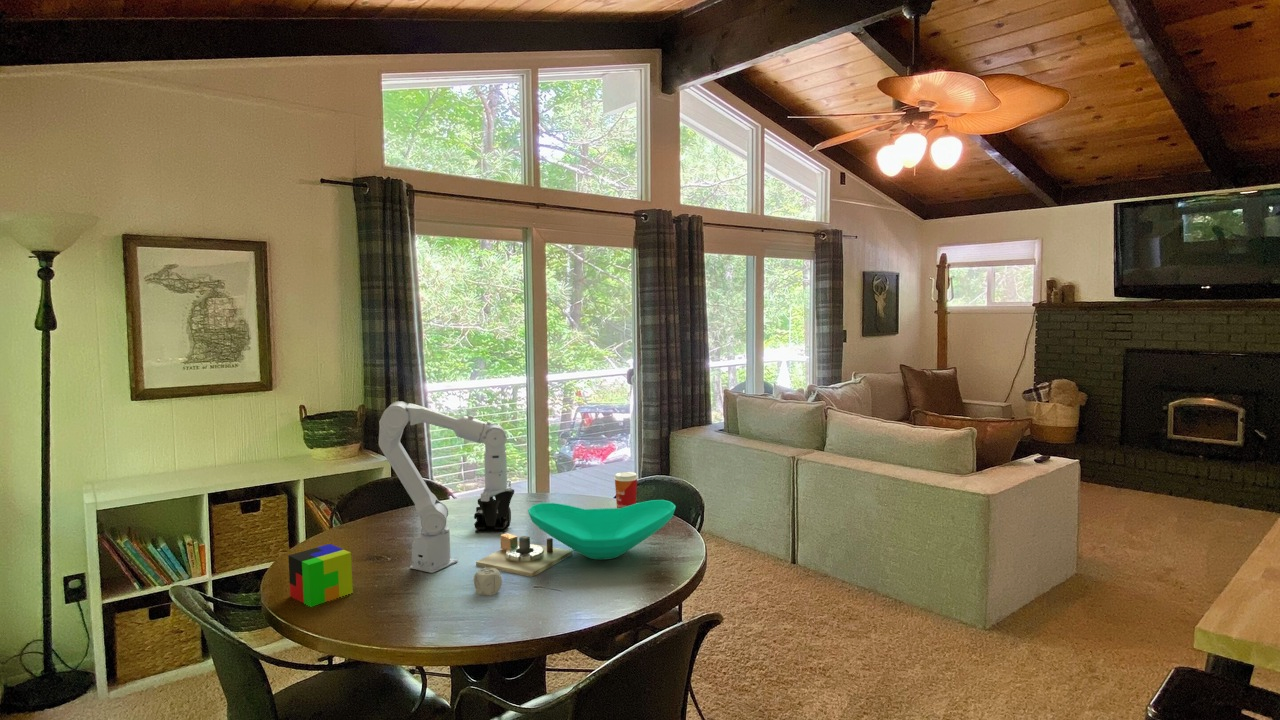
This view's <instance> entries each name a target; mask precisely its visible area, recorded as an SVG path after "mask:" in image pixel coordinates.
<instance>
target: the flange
mask: <svg viewBox="0 0 1280 720" xmlns="http://www.w3.org/2000/svg"><path fill="white" fill-rule="evenodd" d="M499 540H500V550H501V549H503V550H506V557H507V558H508V559H509V560H512V561H518V562H519V561H520V560H521V562H523V561H530V560H536V559H539V558H540V557H542V556H543V554H544V549H543V548H542V547H541V546H538V545H539V544H537V545H530V552H531V553H527V554H520V550H519V546H518V541H519V540H518V536H517V535H513V534H511V533H508V532H507V533H502V534H500V538H499Z"/></svg>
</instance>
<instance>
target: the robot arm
mask: <svg viewBox="0 0 1280 720" xmlns="http://www.w3.org/2000/svg"><path fill="white" fill-rule="evenodd" d="M409 422H410V423H409ZM378 423H379V428H378V429H379V431H378V447H379V448H380V450H381V452H382V454H383V455H384V456H385V458H386V460H387V462H388V463H389V464H390V467H391V468H392V470H393V472H394V473H395V474H396V476H397V477H398V479H399V481H400V483H401V484H402V486H403V487H404V489H405V491H406V492H407V495H408V496H409V497H410V499H411V500H412V502H413V504H414V507H415V509H416V510H415V511H416V513H417V515H418V517H419V518H420V527H421V528H420V533H419V535H418V536H417V537H416V538H414V539H413V541H412V544H411V563H412V564H411V565H410V566H409V568H410V569H413V570H417V571H421V572H426V573H431V574H433V573H436V572H439V571H441V570H442V569H445V568H446V567H449V566H451V565H453V564H455V563H457V562H458V559H457V558H453V557H451V542H450V541H451V537H450V527H449V526H448V524H447V518H448V516H449V510H448V507H447V505H446V504H445V503H443V502H441V501H440V500H439V499H438V498H437V496H436V495H435V494H434V493H433V492H432V491H431V489H430V488H429V487H428V485H427V483H426V481H425V480H424V478H423V477H422V475H421V473H420V472H419V470H418V469H417V467H416V465H415V463H414V462H413V460H412V459H411V457H410V455H409V454H408V452H407V451H406V448H404V446H403V444H402V443H401V439H402V436H403V433H404V429H405V427H406V426H407V425H408V423H409V425H410V426H414V425H418V424H422V423H425V424H429V425H432V426H435V427H438V428H443V429H447V430H451V431H453V432H454V433H455V436H456V437H457V438H459V439H460V438H461V439H464V440H467V441H470V442H472V443H473V442H474V443H478V444H484V451H485V452H484V461H483V462H484V488H483V491H482V493H480V497H479V498H478V499H477V504H478V507H481V509H482V511H483V514H484V517H485V521H486V524H487V526H495V523H496V514H497V509H498V515H499V517H507V515H508V510H509V507H510V504H511V500H512V499H513V496H514V495H515V489H513V488H512V485H511V484H512V483H511V481H512V480H508V471H507V470H508V467H507V463H508V462H507V452H506V450H507V447H506V443H507V440H508V438H507V435H506V430H505V428H504V427H503V426H501V425H499V424H498V423H492V422H491V421H489V420H487V421H486V422H485V421H482V420H479V419H476V418H474V415H472V414H468V416H466V415H462V416H461V417H458V418H456V417H453V416H450V415H448V414H446V413H445V414H444V413H443V412H439V411H437V410H434V409H431V408H428V407H425V406H422V405H418V404H415V403H410V402H409V403H407V402H405V401H403V400H402V401H399V400H398V401H397V400H396V401H394V402H391V404H390V405H389V406H388V407H387V408H386V409H385V410H384V411H383V413H382V414H381V417H380V419H379V422H378Z"/></svg>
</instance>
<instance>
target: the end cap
mask: <svg viewBox="0 0 1280 720" xmlns="http://www.w3.org/2000/svg"><path fill="white" fill-rule="evenodd" d="M475 510H476V511H475V513H474V514H473V515H474V516H473V519H474V520H476V521H475V522H474V524H473V525H474V528H475V534H506V532H507V531H508V529H509V527H510V525H511V523H512V522H511V520H512V510H511V507H510V506H509V510H508V515H507V517H499V515H498V509H497V514H496V523H495V526H487V524H486V521H485V517H484V514H483V511H482V509H481V507H480V506H477V507H476V509H475Z"/></svg>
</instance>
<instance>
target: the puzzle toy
mask: <svg viewBox="0 0 1280 720" xmlns="http://www.w3.org/2000/svg"><path fill="white" fill-rule="evenodd" d="M352 562H353V561H352V552H350V551H349V550H345V549H343V548H341V547H339V546H336V545H333V544H331V543H329V544H325V545H321V546H318V547H314V548H311V549H306V550H302V551H299V552H295V553H292V554H288V570H289V571H288V573H289V575H288V577H289V592H290V593H289V594H290V595H289V597H290V596H292V597H293V598H292V597H291V598H292V599H294V598H295V599H294V600H296V599H297V600H299V601H301V602H303V603H304V604H303V603H302V604H303V605H305V604H306V605H305V606H307V605H308V606H307V607H309V606H310V607H312V606H315V605H318V604H320V603H324V602H326V601H329V602H331V601H330V600H332V601H334V600H333V599H335V600H337V599H336V598H338V599H340V598H339V597H341V598H343V597H342V596H344V597H346V596H345V595H347V596H349V595H348V594H350V595H352V594H351V593H353V594H354V588H353V568H352V567H353V566H352V565H353V563H352ZM297 600H296V601H297ZM299 601H298V602H299ZM301 602H300V603H301ZM324 604H325V603H324ZM318 606H319V605H318ZM310 607H309V608H310ZM315 607H316V606H315ZM312 608H313V607H312Z"/></svg>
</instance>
